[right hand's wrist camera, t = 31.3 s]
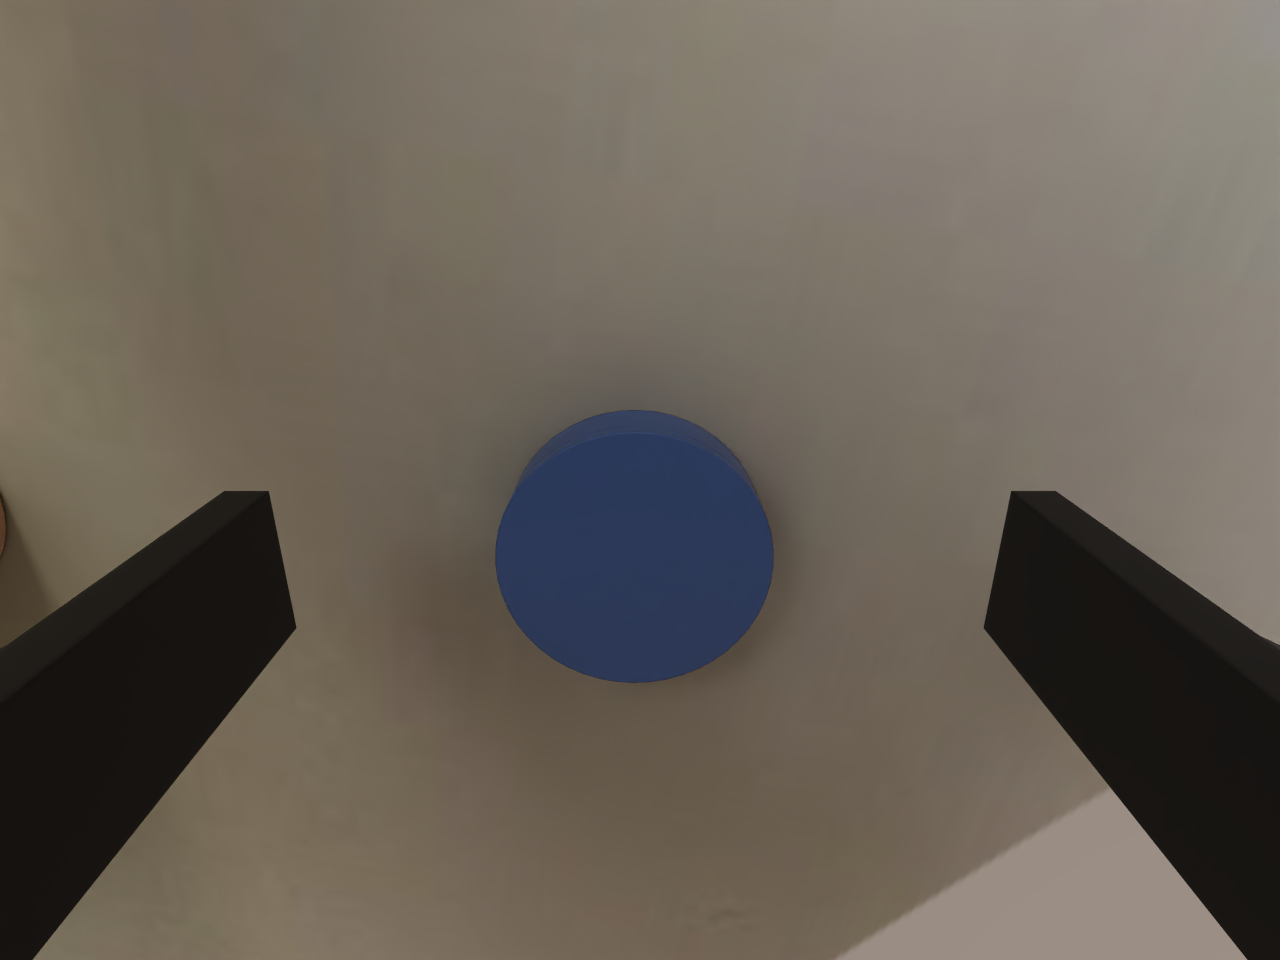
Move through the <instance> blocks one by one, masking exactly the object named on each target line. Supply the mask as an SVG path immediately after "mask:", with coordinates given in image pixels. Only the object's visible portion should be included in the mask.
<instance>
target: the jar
mask: <svg viewBox="0 0 1280 960" xmlns="http://www.w3.org/2000/svg"><path fill="white" fill-rule="evenodd" d="M5 535H6V523H5V515H4V510H3V506H2V502H1V499H0V556H1V554H2V551H3V548H4V543H5Z"/></svg>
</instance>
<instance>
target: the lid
mask: <svg viewBox="0 0 1280 960" xmlns="http://www.w3.org/2000/svg"><path fill="white" fill-rule="evenodd" d="M495 563H496V571H497V579H498V583H499V586H500V590H501V593H502V596H503V599H504V601H505V603H506V605H507V608H508V610H509V612H510V613H511V615H512V617H513V618H514V620H515V622H516V623H517V625H518V626H519V627H520V628H521V630H522V631H523V632H524V633H525V635H526V636H527V637H528V638H529V639H530V640H531V641H532V642H533V643H534V644H535V645H536V646H537V647H538V648H539V649H541V650H542V651H543V652H545V653H546V654H547V655H549V656H550V657H551V658H553V659H554V660H556V661H558V662H560V663H561V664H563V665H565V666H566V667H568V668H571V669H573V670H575V671H578V672H580V673H583V674H586V675H589V676H592V677H596V678H599V679H605V680H610V681H616V682H630V683H637V682H653V681H659V680H665V679H670V678H673V677H677V676H681V675H684V674H686V673H689V672H691V671H694V670H696V669H699V668H701V667H702V666H704V665H706V664H708V663H710V662H712V661H713V660H715V659H716V658H718V657H719V656H721V655H722V654H723V653H725V652H726V651H727V650H729V649H730V648H731V647H732V646H733V645H734V644H735V643H736V642H737V641H738V640H739V639H740V638H741V637H742V636H743V635H744V634H745V632H746V631H747V630H748V629H749V628H750V626H751V625H752V623H753V622H754V620H755V618H756V617H757V615H758V614H759V612H760V610H761V608H762V606H763V603H764V601H765V599H766V596H767V593H768V590H769V587H770V583H771V578H772V571H773V543H772V535H771V531H770V527H769V524H768V520H767V517H766V515H765V513H764V510H763V508H762V506H761V503H760V501H759V499H758V496H757V494H756V492H755V489H754V487H753V485H752V483H751V480H750V478H749V476H748V474H747V472H746V471H745V469H744V468H743V466H742V465H741V463H740V461H739V460H738V459H737V458H736V457H735V455H734V454H733V453H732V452H731V451H730V450H729V449H728V448H727V447H726V446H725V445H724V444H723V443H722V442H721V441H720V440H718V439H717V438H716V437H715V436H713V435H712V434H710V433H709V432H707V431H706V430H704V429H703V428H701V427H699V426H697V425H695V424H693V423H691V422H689V421H687V420H684V419H681V418H678V417H675V416H672V415H668V414H663V413H659V412H654V411H641V410H630V411H617V412H611V413H605V414H601V415H598V416H594V417H591V418H588V419H585V420H583V421H581V422H579V423H576V424H574V425H572V426H570V427H568V428H567V429H565V430H564V431H562V432H561V433H559V434H557V435H556V436H555V437H553V438H552V439H551V440H550V441H549V442H548V443H546V444H545V445H544V446H543V447H542V448H541V449H540V450H539V451H538V452H537V454H536V455H535V456H534V457H533V458H532V459H531V461H530V462H529V464H528V465H527V467H526V468H525V470H524V471H523V473H522V475H521V477H520V479H519V481H518V483H517V485H516V488H515V490H514V492H513V494H512V496H511V499H510V501H509V503H508V505H507V508H506V510H505V512H504V514H503V517H502V520H501V524H500V527H499V530H498V536H497V542H496V562H495Z"/></svg>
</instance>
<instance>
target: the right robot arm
mask: <svg viewBox="0 0 1280 960" xmlns="http://www.w3.org/2000/svg"><path fill="white" fill-rule="evenodd" d="M295 629H296V624H295V619H294V614H293V609H292V604H291V599H290V594H289V589H288V584H287V579H286V574H285V569H284V564H283V559H282V554H281V550H280V545H279V540H278V535H277V530H276V525H275V520H274V515H273V510H272V505H271V500H270V495H269V491H224V492H222V493H221V494H220V495H218V496H217V497H215V498H214V499H213V500H211V501H210V502H208V503H207V504H205V505H204V506H203V507H201V508H200V509H198V510H197V511H196V512H194V513H193V514H191V515H190V516H189V517H187V518H186V519H184V520H183V521H181V522H180V523H179V524H177V525H176V526H174V527H173V528H172V529H170V530H169V531H167V532H166V533H165V534H163V535H162V536H160V537H159V538H158V539H156V540H155V541H153V542H152V543H150V544H149V545H148V546H146V547H145V548H143V549H142V550H141V551H139V552H138V553H136V554H135V555H134V556H132V557H131V558H129V559H128V560H127V561H125V562H124V563H122V564H121V565H119V566H118V567H117V568H115V569H114V570H112V571H111V572H110V573H108V574H107V575H105V576H104V577H103V578H101V579H100V580H98V581H97V582H96V583H94V584H93V585H91V586H90V587H88V588H87V589H86V590H84V591H83V592H81V593H80V594H79V595H77V596H76V597H74V598H73V599H72V600H70V601H69V602H67V603H66V604H65V605H63V606H62V607H60V608H59V609H57V610H56V611H55V612H53V613H52V614H50V615H49V616H48V617H46V618H45V619H43V620H42V621H41V622H39V623H38V624H36V625H35V626H34V627H32V628H31V629H29V630H28V631H26V632H25V633H24V634H22V635H21V636H19V637H18V638H17V639H15V640H14V641H12V642H11V643H10V644H8V645H6V646H4V647H2V648H0V960H33V958H34V957H35V956H36V955H37V953H38V952H39V951H40V950H41V948H42V947H43V946H44V945H45V943H46V942H47V941H48V940H49V938H50V937H51V936H52V934H53V933H54V932H55V931H56V929H57V928H58V927H59V926H60V924H61V923H62V922H63V921H64V919H65V918H66V917H67V916H68V914H69V913H70V912H71V911H72V909H73V908H74V907H75V906H76V904H77V903H78V902H79V901H80V899H81V898H82V897H83V896H84V894H85V893H86V892H87V890H88V889H89V888H90V887H91V885H92V884H93V883H94V882H95V880H96V879H97V878H98V877H99V875H100V874H101V873H102V872H103V870H104V869H105V868H106V867H107V865H108V864H109V863H110V862H111V860H112V859H113V858H114V857H115V855H116V854H117V853H118V852H119V850H120V849H121V848H122V847H123V845H124V844H125V843H126V841H127V840H128V839H129V838H130V836H131V835H132V834H133V833H134V831H135V830H136V829H137V828H138V826H139V825H140V824H141V823H142V821H143V820H144V819H145V818H146V816H147V815H148V814H149V813H150V811H151V810H152V809H153V808H154V806H155V805H156V804H157V803H158V801H159V800H160V799H161V797H162V796H163V795H164V794H165V792H166V791H167V790H168V789H169V787H170V786H171V785H172V784H173V782H174V781H175V780H176V779H177V777H178V776H179V775H180V774H181V772H182V771H183V770H184V769H185V767H186V766H187V765H188V764H189V762H190V761H191V760H192V759H193V757H194V756H195V755H196V754H197V752H198V751H199V750H200V748H201V747H202V746H203V745H204V743H205V742H206V741H207V740H208V738H209V737H210V736H211V735H212V733H213V732H214V731H215V730H216V728H217V727H218V726H219V725H220V723H221V722H222V721H223V720H224V718H225V717H226V716H227V715H228V713H229V712H230V711H231V710H232V708H233V707H234V706H235V704H236V703H237V702H238V701H239V699H240V698H241V697H242V696H243V694H244V693H245V692H246V691H247V689H248V688H249V687H250V686H251V684H252V683H253V682H254V681H255V679H256V678H257V677H258V676H259V674H260V673H261V672H262V671H263V669H264V668H265V667H266V666H267V664H268V663H269V662H270V661H271V659H272V658H273V657H274V655H275V654H276V653H277V652H278V650H279V649H280V648H281V647H282V645H283V644H284V643H285V642H286V640H287V639H288V638H289V637H290V635H291V634H292V633H293V632H294V630H295ZM984 629H985V630H986V632H987V633H988V634H989V635H990V637H991V638H992V639H993V640H994V642H995V643H996V644H997V645H998V647H999V648H1000V649H1001V650H1002V652H1003V653H1004V654H1005V656H1006V657H1007V658H1008V659H1009V661H1010V662H1011V663H1012V664H1013V666H1014V667H1015V668H1016V669H1017V671H1018V672H1019V673H1020V674H1021V676H1022V677H1023V678H1024V679H1025V681H1026V682H1027V683H1028V684H1029V686H1030V687H1031V688H1032V689H1033V691H1034V692H1035V693H1036V694H1037V696H1038V697H1039V698H1040V700H1041V701H1042V702H1043V703H1044V705H1045V706H1046V707H1047V708H1048V710H1049V711H1050V712H1051V713H1052V715H1053V716H1054V717H1055V718H1056V720H1057V721H1058V722H1059V723H1060V725H1061V726H1062V727H1063V728H1064V730H1065V731H1066V732H1067V733H1068V735H1069V736H1070V737H1071V738H1072V740H1073V741H1074V742H1075V743H1076V745H1077V746H1078V747H1079V749H1080V750H1081V751H1082V752H1083V754H1084V755H1085V756H1086V757H1087V759H1088V760H1089V761H1090V762H1091V764H1092V765H1093V766H1094V767H1095V769H1096V770H1097V771H1098V772H1099V774H1100V775H1101V776H1102V777H1103V779H1104V780H1105V781H1106V782H1107V784H1108V785H1109V786H1110V787H1111V789H1112V790H1113V791H1114V793H1115V794H1116V795H1117V796H1118V797H1119V799H1120V800H1121V801H1122V803H1123V804H1124V805H1125V806H1126V808H1127V809H1128V810H1129V811H1130V813H1131V814H1132V815H1133V816H1134V818H1135V819H1136V820H1137V821H1138V823H1139V824H1140V825H1141V826H1142V828H1143V829H1144V830H1145V831H1146V833H1147V834H1148V835H1149V836H1150V838H1151V839H1152V840H1153V842H1154V843H1155V844H1156V845H1157V846H1158V848H1159V849H1160V850H1161V852H1162V853H1163V854H1164V855H1165V857H1166V858H1167V859H1168V860H1169V862H1170V863H1171V864H1172V865H1173V867H1174V868H1175V869H1176V870H1177V872H1178V873H1179V874H1180V875H1181V877H1182V878H1183V879H1184V880H1185V882H1186V883H1187V884H1188V885H1189V887H1190V888H1191V889H1192V891H1193V892H1194V893H1195V894H1196V896H1197V897H1198V898H1199V899H1200V901H1201V902H1202V903H1203V904H1204V906H1205V907H1206V908H1207V909H1208V911H1209V912H1210V913H1211V914H1212V916H1213V917H1214V918H1215V919H1216V921H1217V922H1218V923H1219V924H1220V926H1221V927H1222V928H1223V929H1224V931H1225V932H1226V933H1227V935H1228V936H1229V937H1230V938H1231V939H1232V941H1233V942H1234V943H1235V945H1236V946H1237V947H1238V948H1239V950H1240V951H1241V952H1242V953H1243V955H1244V956H1245V957H1246V958H1247V960H1280V645H1278V644H1276V643H1274V642H1272V641H1270V640H1268V639H1265V638H1263V637H1261V636H1259V635H1258V634H1256V633H1255V632H1253V631H1252V630H1251V629H1249V628H1248V627H1246V626H1245V625H1244V624H1242V623H1241V622H1239V621H1238V620H1237V619H1235V618H1234V617H1232V616H1231V615H1230V614H1228V613H1227V612H1225V611H1224V610H1222V609H1221V608H1220V607H1218V606H1217V605H1215V604H1214V603H1213V602H1211V601H1210V600H1208V599H1207V598H1206V597H1204V596H1203V595H1201V594H1200V593H1199V592H1197V591H1196V590H1194V589H1193V588H1191V587H1190V586H1189V585H1187V584H1186V583H1184V582H1183V581H1182V580H1180V579H1179V578H1177V577H1176V576H1175V575H1173V574H1172V573H1170V572H1169V571H1168V570H1166V569H1165V568H1163V567H1162V566H1160V565H1159V564H1158V563H1156V562H1155V561H1153V560H1152V559H1151V558H1149V557H1148V556H1146V555H1145V554H1144V553H1142V552H1141V551H1139V550H1138V549H1137V548H1135V547H1134V546H1132V545H1131V544H1129V543H1128V542H1127V541H1125V540H1124V539H1122V538H1121V537H1120V536H1118V535H1117V534H1115V533H1114V532H1113V531H1111V530H1110V529H1108V528H1107V527H1106V526H1104V525H1103V524H1101V523H1100V522H1098V521H1097V520H1096V519H1094V518H1093V517H1091V516H1090V515H1089V514H1087V513H1086V512H1084V511H1083V510H1082V509H1080V508H1079V507H1077V506H1076V505H1075V504H1073V503H1072V502H1070V501H1069V500H1067V499H1066V498H1065V497H1063V496H1062V495H1060V494H1059V493H1058V492H1056V491H1011V495H1010V500H1009V505H1008V510H1007V515H1006V520H1005V525H1004V530H1003V535H1002V539H1001V544H1000V549H999V554H998V559H997V564H996V569H995V574H994V579H993V584H992V589H991V594H990V599H989V604H988V609H987V614H986V618H985V623H984Z"/></svg>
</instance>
